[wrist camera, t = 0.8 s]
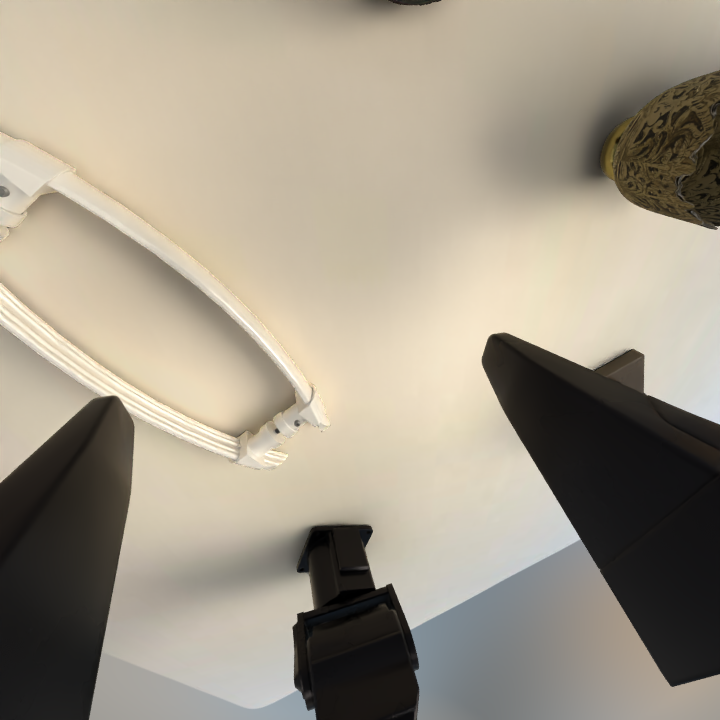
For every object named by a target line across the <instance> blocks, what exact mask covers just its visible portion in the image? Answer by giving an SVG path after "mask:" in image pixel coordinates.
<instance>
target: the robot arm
mask: <svg viewBox="0 0 720 720" xmlns="http://www.w3.org/2000/svg"><path fill="white" fill-rule="evenodd" d="M482 365H483V368H484V370H485V372H486V374H487V377H488V379H489V381H490V383H491V385H492V387H493V389H494V392H495V394H496V396H497V398H498V400H499V402H500V404H501V406H502V408H503V410H504V412H505V414H506V416H507V418H508V419H509V421H510V423H511V424H512V426H513V428H514V429H515V431H516V433H517V434H518V436H519V438H520V439H521V441H522V443H523V444H524V446H525V447H526V449H527V451H528V452H529V454H530V456H531V457H532V459H533V461H534V462H535V464H536V466H537V467H538V469H539V471H540V472H541V474H542V476H543V477H544V479H545V481H546V482H547V484H548V486H549V487H550V489H551V490H552V492H553V494H554V495H555V497H556V499H557V500H558V502H559V504H560V505H561V507H562V509H563V510H564V512H565V514H566V515H567V517H568V519H569V520H570V522H571V524H572V525H573V527H574V528H575V530H576V532H577V533H578V535H579V537H580V538H581V540H582V542H583V543H584V545H585V547H586V548H587V550H588V551H589V553H590V555H591V557H592V558H593V560H594V561H595V563H596V565H597V566H598V568H599V569H600V572H601V574H602V575H603V577H604V578H605V580H606V582H607V583H608V585H609V587H610V588H611V590H612V592H613V593H614V595H615V596H616V598H617V600H618V601H619V603H620V605H621V607H622V608H623V610H624V612H625V613H626V615H627V616H628V618H629V620H630V621H631V623H632V625H633V626H634V628H635V629H636V631H637V633H638V635H639V636H640V638H641V640H642V641H643V643H644V645H645V646H646V648H647V650H648V651H649V653H650V655H651V656H652V658H653V659H654V661H655V663H656V664H657V666H658V668H659V669H660V671H661V673H662V674H663V676H664V677H665V679H666V680H667V681H668V683H669V684H670V686H672V687H674V686H677V685H681V684H685V683H689V682H692V681H696V680H700V679H704V678H707V677H711V676H714V675H718V674H720V425H719V424H717V423H714V422H712V421H709V420H707V419H704V418H702V417H699V416H696V415H694V414H691V413H689V412H687V411H684V410H682V409H680V408H677V407H675V406H673V405H670V404H668V403H665V402H663V401H661V400H659V399H656V398H654V397H652V396H649V395H648V396H647V395H646V394H645V393H643V392H640V391H638V390H636V389H633V388H631V387H629V386H627V385H624V384H622V383H620V382H617V381H615V380H613V379H611V378H608V377H606V376H604V375H601V374H599V373H597V372H595V371H592V370H590V369H588V368H585V367H583V366H581V365H579V364H576V363H574V362H572V361H569V360H567V359H565V358H563V357H560V356H558V355H556V354H554V353H551V352H549V351H547V350H544V349H542V348H540V347H538V346H535V345H533V344H531V343H528V342H526V341H524V340H522V339H519V338H517V337H515V336H512V335H510V334H508V333H498V334H492V335H491V336H490V337H489V338H488V340H487V343H486V347H485V350H484V353H483V356H482ZM133 448H134V422H133V420H132V418H131V416H130V415H129V413H128V411H127V410H126V408H125V406H124V405H123V403H122V401H121V400H120V399H119V397H117V396H115V395H111V396H104V397H98V398H95V399H93V400H91V401H90V402H89V403H88V404H87V405H86V406H85V407H83V408H82V409H81V410H80V411H79V412H78V413H77V414H76V415H75V416H74V417H72V418H71V419H70V420H69V421H68V422H67V423H66V424H65V425H64V426H63V427H61V428H60V429H59V430H58V431H57V432H56V433H55V434H54V435H53V436H52V437H50V438H49V439H48V440H47V441H46V442H45V443H44V444H43V445H42V446H41V447H40V448H38V449H37V450H36V451H35V452H34V453H33V454H32V455H31V456H30V457H29V458H27V459H26V460H25V461H24V462H23V463H22V464H21V465H20V466H19V467H18V468H16V469H15V470H14V471H13V472H12V473H11V474H10V475H9V476H8V477H7V478H5V479H4V480H3V481H2V482H1V483H0V720H89V716H90V711H91V705H92V700H93V694H94V689H95V684H96V679H97V673H98V668H99V662H100V657H101V652H102V646H103V641H104V636H105V630H106V625H107V620H108V614H109V609H110V604H111V598H112V593H113V587H114V582H115V577H116V571H117V566H118V561H119V555H120V550H121V544H122V539H123V534H124V528H125V523H126V518H127V512H128V507H129V501H130V495H131V484H132V467H133ZM372 533H373V530H372V527H371V526H331V527H314V528H312V529H311V531H310V533H309V536H308V538H307V541H306V543H305V546H304V549H303V551H302V554H301V556H300V559H299V562H298V564H297V572H299V573H304V572H309V576H310V583H311V590H312V597H313V604H314V610H312V611H309V612H305V613H304V612H302V613H298V614H297V619H298V621H297V623H296V624H295V625H294V626H293V637H294V684H295V688H297V689H298V690H299V691H300V692H301V693H302V695H303V699H305V702H306V706H307V710H308V711H309V710H312V709H315V712H316V720H417V711H418V701H419V686H418V683H417V679H416V676H415V673H414V671H415V670H418V669H419V663H418V658H417V653H416V649H415V645H414V641H413V638H412V634H411V631H410V628H409V626H408V623H407V620H406V618H405V615H404V613H403V610H402V608H401V605H400V603H399V600H398V598H397V595H396V593H395V590H394V588H393V585H392V583H391V584H388V585H386V587H383V588H379V589H376V588H375V585H374V581H373V578H372V574H371V571H370V567H369V563H368V559H367V556H366V552H365V547H366V545H367V543H368V541H369V539H370V537H371V535H372Z"/></svg>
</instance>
